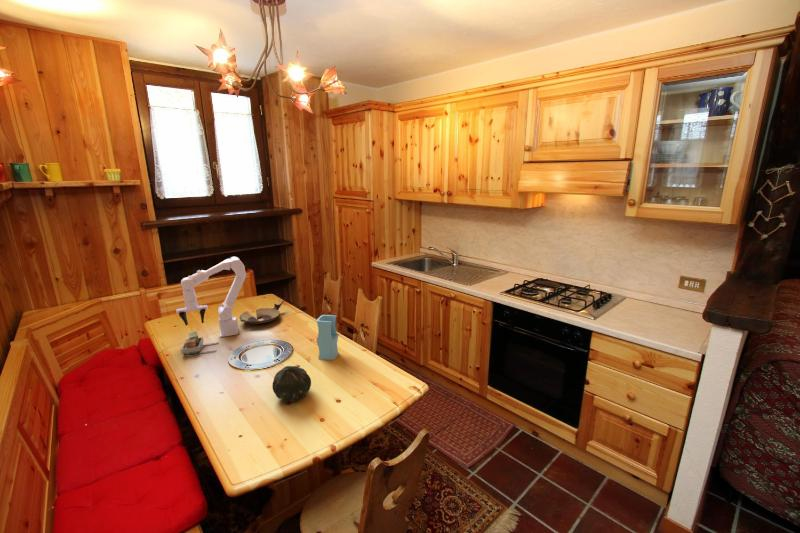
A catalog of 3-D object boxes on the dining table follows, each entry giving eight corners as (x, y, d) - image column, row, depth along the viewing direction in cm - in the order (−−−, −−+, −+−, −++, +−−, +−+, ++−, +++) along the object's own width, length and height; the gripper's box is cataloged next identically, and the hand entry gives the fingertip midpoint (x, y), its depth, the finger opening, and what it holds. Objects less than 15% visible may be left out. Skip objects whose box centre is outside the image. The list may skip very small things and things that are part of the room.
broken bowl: (234, 321, 222) (232, 309, 220) (281, 308, 241) (280, 298, 239) (246, 333, 206) (244, 321, 204) (296, 318, 224) (295, 307, 222)
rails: (218, 342, 195) (218, 342, 195) (216, 351, 186) (216, 350, 186) (187, 347, 190) (187, 347, 190) (183, 356, 181) (183, 356, 181)
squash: (301, 367, 159) (279, 354, 148) (323, 381, 150) (301, 367, 139) (281, 398, 154) (257, 386, 143) (303, 413, 145) (279, 402, 134)
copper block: (197, 346, 186) (195, 338, 185) (195, 349, 183) (194, 341, 181) (188, 347, 185) (186, 339, 184) (186, 351, 181) (185, 342, 180)
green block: (198, 338, 191) (196, 331, 189) (199, 342, 188) (197, 335, 186) (189, 340, 189) (188, 333, 187) (190, 345, 186) (188, 338, 184)
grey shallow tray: (204, 343, 193) (202, 337, 192) (200, 353, 183) (199, 346, 182) (187, 346, 190) (185, 339, 189) (182, 356, 180) (181, 349, 179)
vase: (333, 360, 175) (330, 322, 170) (318, 359, 177) (315, 321, 172) (339, 352, 183) (336, 315, 177) (324, 351, 184) (321, 314, 179)
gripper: (206, 295, 198) (210, 318, 202) (176, 299, 193) (180, 322, 197) (205, 299, 192) (209, 323, 195) (173, 303, 187) (178, 328, 190)
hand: (194, 323), depth 196 cm, fingers open, 7 cm apart
